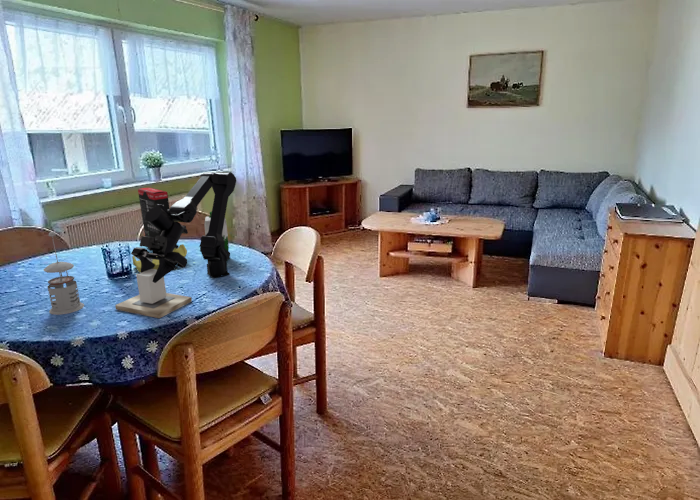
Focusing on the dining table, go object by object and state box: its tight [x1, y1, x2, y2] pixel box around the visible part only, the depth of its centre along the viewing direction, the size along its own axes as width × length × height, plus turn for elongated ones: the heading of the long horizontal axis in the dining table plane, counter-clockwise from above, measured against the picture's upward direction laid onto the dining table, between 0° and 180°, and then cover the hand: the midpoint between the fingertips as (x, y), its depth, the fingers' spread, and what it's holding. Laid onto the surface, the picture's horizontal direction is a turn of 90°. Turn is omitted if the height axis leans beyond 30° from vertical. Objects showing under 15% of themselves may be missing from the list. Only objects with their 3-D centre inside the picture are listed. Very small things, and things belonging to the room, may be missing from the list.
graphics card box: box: [137, 187, 170, 238], centre depth 210 cm, size 17×7×27 cm, turn 46°
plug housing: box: [135, 269, 167, 304], centre depth 148 cm, size 6×5×9 cm
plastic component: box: [131, 244, 188, 273], centre depth 188 cm, size 20×7×10 cm
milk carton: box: [204, 211, 230, 262], centre depth 193 cm, size 9×9×20 cm
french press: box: [43, 231, 85, 316], centre depth 146 cm, size 10×12×25 cm
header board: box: [114, 292, 193, 319], centre depth 149 cm, size 14×18×5 cm
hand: (147, 281), depth 146 cm, fingers closed on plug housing, 5 cm apart
